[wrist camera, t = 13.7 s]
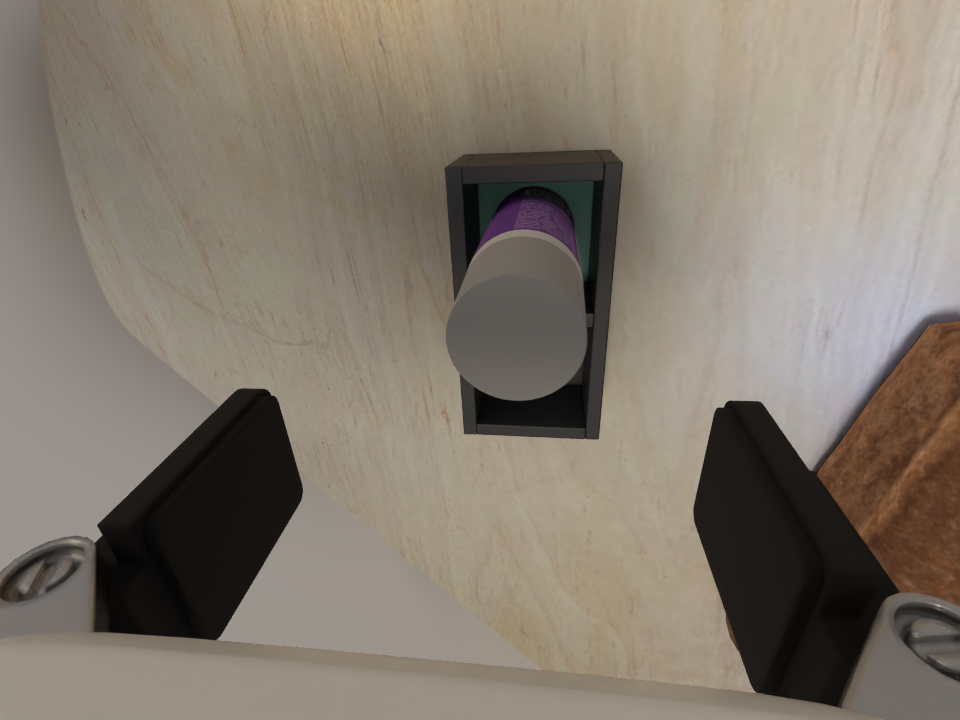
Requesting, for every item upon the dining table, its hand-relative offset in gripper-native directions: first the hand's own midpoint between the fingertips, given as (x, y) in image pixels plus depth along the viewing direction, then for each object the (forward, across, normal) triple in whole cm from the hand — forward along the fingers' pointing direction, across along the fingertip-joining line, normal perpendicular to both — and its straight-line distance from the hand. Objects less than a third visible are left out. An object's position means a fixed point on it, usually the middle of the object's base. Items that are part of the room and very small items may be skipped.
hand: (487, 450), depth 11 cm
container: (+21, 0, 0) cm, 21 cm away
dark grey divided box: (+21, -1, +4) cm, 21 cm away
